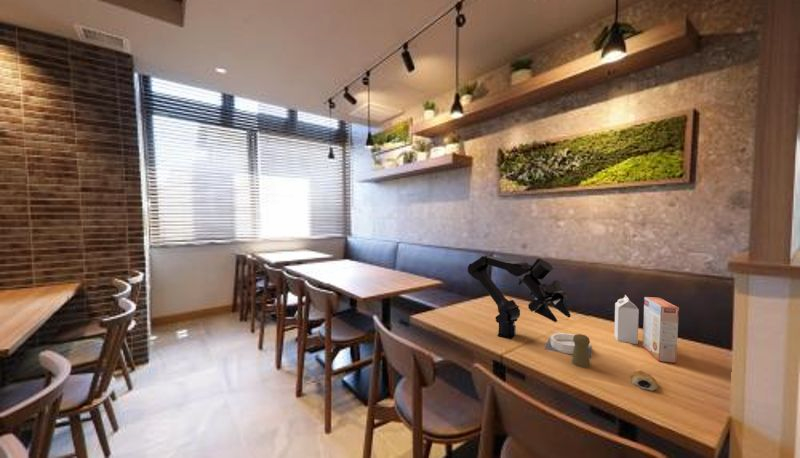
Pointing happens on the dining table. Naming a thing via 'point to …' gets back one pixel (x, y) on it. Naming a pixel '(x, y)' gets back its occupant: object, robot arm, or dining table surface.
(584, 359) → the pepper mill
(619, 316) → the milk carton
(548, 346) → the mat
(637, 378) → the pastry
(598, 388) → the dining table surface
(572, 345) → the bowl
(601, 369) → the dining table surface
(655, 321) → the cracker box
